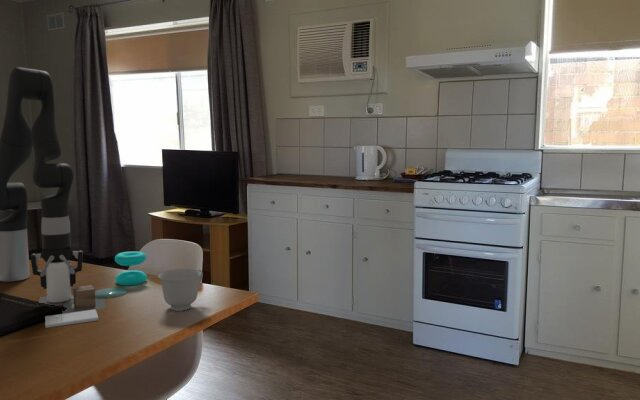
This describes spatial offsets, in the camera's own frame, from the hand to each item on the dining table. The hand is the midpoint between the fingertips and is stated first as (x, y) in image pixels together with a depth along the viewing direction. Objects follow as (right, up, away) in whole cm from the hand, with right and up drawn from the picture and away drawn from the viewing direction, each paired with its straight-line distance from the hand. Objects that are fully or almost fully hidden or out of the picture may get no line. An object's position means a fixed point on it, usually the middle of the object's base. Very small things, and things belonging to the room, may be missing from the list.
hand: (58, 286), depth 153 cm
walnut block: (+10, -5, -4) cm, 11 cm away
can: (0, -4, 0) cm, 4 cm away
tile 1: (0, -4, 0) cm, 4 cm away
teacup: (+39, -5, -4) cm, 39 cm away
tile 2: (+10, -5, -4) cm, 11 cm away
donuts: (+14, -2, +22) cm, 26 cm away
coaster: (+12, -4, +8) cm, 15 cm away
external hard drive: (+12, -7, -16) cm, 21 cm away
